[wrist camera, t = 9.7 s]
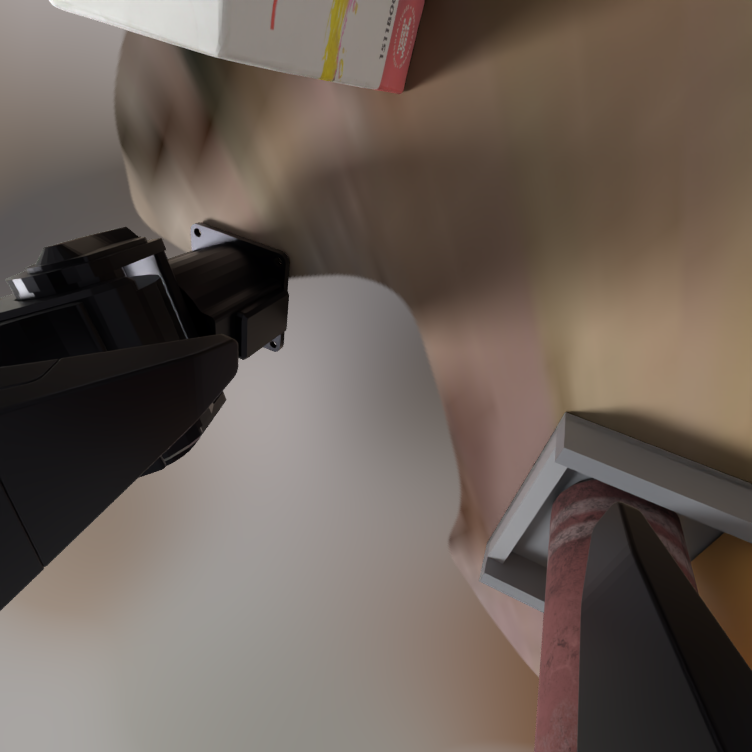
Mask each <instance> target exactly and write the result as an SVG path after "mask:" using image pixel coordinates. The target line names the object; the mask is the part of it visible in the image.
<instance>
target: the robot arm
mask: <svg viewBox="0 0 752 752" xmlns="http://www.w3.org/2000/svg"><path fill="white" fill-rule="evenodd" d="M199 230H200V232H201V234H200V233H199ZM191 243H192V251H190V252H187V253H184V254H181V255H178V256H175V257H173V258H170V259H167V257H166V254H165V252H164V250H166V248H165V246H164V243H163V241H162V238H158V239H152V240H146V238H145V237H138V236H137V235H135V234H134V233H133V232H132V231H131V230H130V229H128V228H127V227H123V228H117V229H114V230H109V231H105V232H100V233H96V234H92V235H88V236H84V237H80V238H76V239H72V240H69V241H66V242H62V243H58V244H55V245H51V246H48V247H44V248H43V250H42V252H41V254H40V256H39V258H38V261H37V262H36V264H33V265H31V266H29V267H26V268H25V270H26V271H24V272H21V273H19V274H17V275H14V276H12V277H10V278H7V279H6V282H7V283H8V285H9V287H10V288H11V290H12V292H13V293H14V294H12V295H8V296H5V297H1V298H0V610H2V609H3V608H4V607H5V606H6V605H7V604H8V603H9V602H10V601H11V600H12V599H13V598H14V597H15V596H16V595H17V594H18V593H19V592H20V591H21V590H23V589H24V588H25V587H26V586H27V585H28V584H29V583H30V582H31V581H32V580H33V579H34V578H35V577H36V576H37V575H38V574H39V573H40V572H41V571H42V570H43V569H44V567H45V566H47V565H48V564H49V563H50V562H51V561H52V560H53V559H54V558H55V557H56V556H57V555H59V554H60V553H61V552H62V551H63V550H64V549H65V548H66V547H67V546H68V545H69V544H70V543H71V542H72V541H73V540H74V539H75V538H76V537H77V536H78V535H79V534H80V533H81V532H82V531H83V530H84V529H85V528H87V527H88V526H89V525H90V524H91V523H92V522H93V521H94V520H95V519H96V518H97V517H98V516H99V515H100V514H101V513H102V512H103V511H104V510H105V509H106V508H107V507H108V506H109V505H110V504H111V503H112V502H114V500H115V499H117V498H118V497H119V496H120V495H121V494H122V493H123V492H124V491H125V490H126V489H127V488H128V487H129V486H130V485H131V484H132V483H133V482H134V481H135V480H136V479H137V478H139V477H142V476H145V475H148V474H151V473H154V472H156V471H159V470H162V469H164V468H165V467H166V466H167V465H169V464H171V463H173V462H175V461H176V460H178V459H180V458H181V457H182V456H184V455H185V454H186V453H187V452H189V451H190V450H191V448H192V447H193V446H194V445H195V444H196V442H197V441H198V440H199V438H200V437H201V435H202V434H203V432H204V431H205V430H206V428H207V427H208V425H209V424H210V422H211V421H212V420H213V418H214V417H215V415H216V414H217V413H218V411H219V410H220V408H221V407H222V405H223V404H224V403H225V401H226V398H225V395H224V393H223V390H224V389H225V387H226V386H227V385H228V384H229V383H230V381H231V380H232V379H233V378H234V376H235V375H236V373H237V369H238V358H240V359H242V360H244V359H246V358H248V357H250V356H251V355H252V354H254V353H255V352H256V351H258V350H259V349H261V348H262V347H264V348H267V349H269V350H272V351H275V352H276V351H279V350H280V349H281V348H282V347H283V344H284V331H286V327H287V314H288V301H289V294H288V291H287V290H288V277H289V263H290V262H289V258H288V256H287V254H286V253H284V252H283V251H280V250H277V249H274V248H271V247H269V246H266V245H263V244H260V243H257V242H254V241H252V240H249V239H246V238H243V237H240V236H238V235H235V234H232V233H229V232H226V231H223V230H221V229H218V228H215V227H212V226H209V225H207V224H204V223H196V224H193V225H192V226H191ZM278 258H280V259H281V261H282V264H280V263H279V261H278ZM274 342H275V343H276V345H275V344H274ZM577 752H752V670H751V669H750V667H749V666H748V664H747V663H746V661H745V660H744V659H743V657H742V656H741V654H740V653H739V651H738V650H737V649H736V647H735V646H734V644H733V643H732V641H731V640H730V639H729V637H728V636H727V634H726V633H725V631H724V630H723V628H722V627H721V626H720V624H719V623H718V621H717V620H716V618H715V617H714V616H713V614H712V613H711V611H710V610H709V608H708V607H707V606H706V604H705V603H704V601H703V600H702V598H701V597H700V596H699V594H698V593H697V591H696V590H695V588H694V587H693V585H692V584H691V583H690V581H689V580H688V578H687V577H686V575H685V574H684V573H683V571H682V570H681V568H680V567H679V565H678V564H677V563H676V561H675V560H674V558H673V557H672V555H671V554H670V552H669V551H668V550H667V548H666V547H665V545H664V544H663V542H662V541H661V540H660V538H659V537H658V535H657V534H656V532H655V531H654V530H653V528H652V527H651V525H650V524H649V522H648V521H647V520H646V518H645V517H644V515H643V514H642V512H641V511H640V510H639V509H637V508H635V507H633V506H630V505H628V504H626V503H623V502H621V501H617V502H615V503H613V504H612V505H611V506H610V507H609V509H608V510H607V511H606V512H605V514H604V515H603V516H602V517H601V518H600V520H599V521H598V522H597V523H596V525H595V526H594V528H593V531H592V535H591V541H590V547H589V554H588V560H587V567H586V573H585V580H584V586H583V593H582V601H581V615H580V653H579V691H578V729H577Z"/></svg>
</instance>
